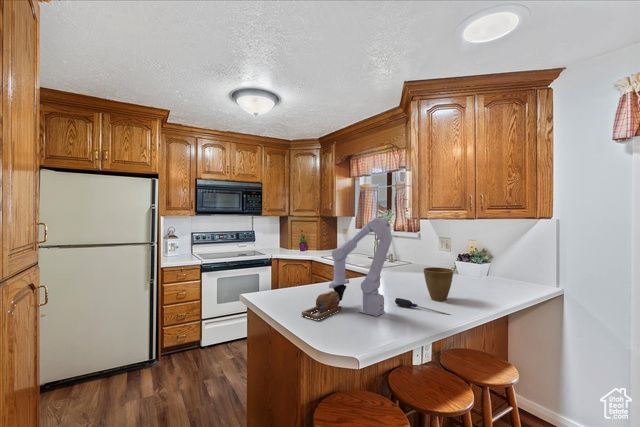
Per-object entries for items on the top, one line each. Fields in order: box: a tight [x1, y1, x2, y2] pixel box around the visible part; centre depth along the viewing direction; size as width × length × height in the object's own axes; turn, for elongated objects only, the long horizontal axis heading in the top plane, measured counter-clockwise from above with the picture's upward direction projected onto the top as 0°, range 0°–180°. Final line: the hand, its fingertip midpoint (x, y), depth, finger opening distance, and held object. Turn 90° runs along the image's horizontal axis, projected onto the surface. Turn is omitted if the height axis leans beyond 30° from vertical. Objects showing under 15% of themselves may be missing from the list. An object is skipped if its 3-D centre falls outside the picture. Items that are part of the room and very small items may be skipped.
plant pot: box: [423, 266, 454, 302], centre depth 159 cm, size 15×15×16 cm
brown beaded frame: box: [301, 305, 343, 320], centre depth 136 cm, size 9×18×2 cm, turn 141°
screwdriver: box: [394, 297, 451, 316], centre depth 142 cm, size 26×4×4 cm, turn 55°
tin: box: [315, 290, 341, 313], centre depth 140 cm, size 15×3×8 cm, turn 138°
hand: (339, 300), depth 147 cm, fingers closed
